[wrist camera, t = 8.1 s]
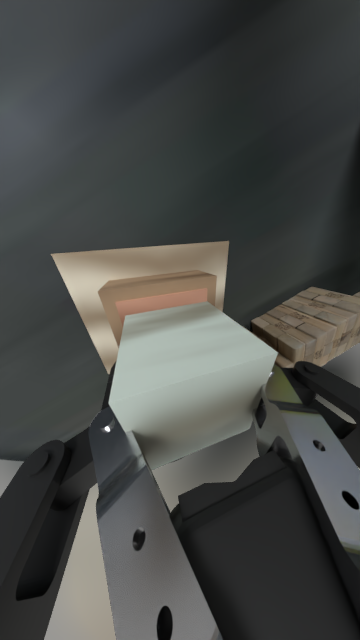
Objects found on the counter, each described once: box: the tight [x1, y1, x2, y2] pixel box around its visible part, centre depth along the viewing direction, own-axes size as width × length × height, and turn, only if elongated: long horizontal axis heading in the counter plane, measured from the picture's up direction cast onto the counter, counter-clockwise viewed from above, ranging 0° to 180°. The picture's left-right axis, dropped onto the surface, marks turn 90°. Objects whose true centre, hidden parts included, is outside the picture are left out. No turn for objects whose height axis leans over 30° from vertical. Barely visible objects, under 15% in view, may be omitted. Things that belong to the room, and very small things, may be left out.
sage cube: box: [109, 301, 278, 470], centre depth 8 cm, size 6×6×6 cm
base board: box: [51, 241, 229, 374], centre depth 14 cm, size 14×16×5 cm
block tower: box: [242, 287, 360, 368], centre depth 21 cm, size 8×8×29 cm
